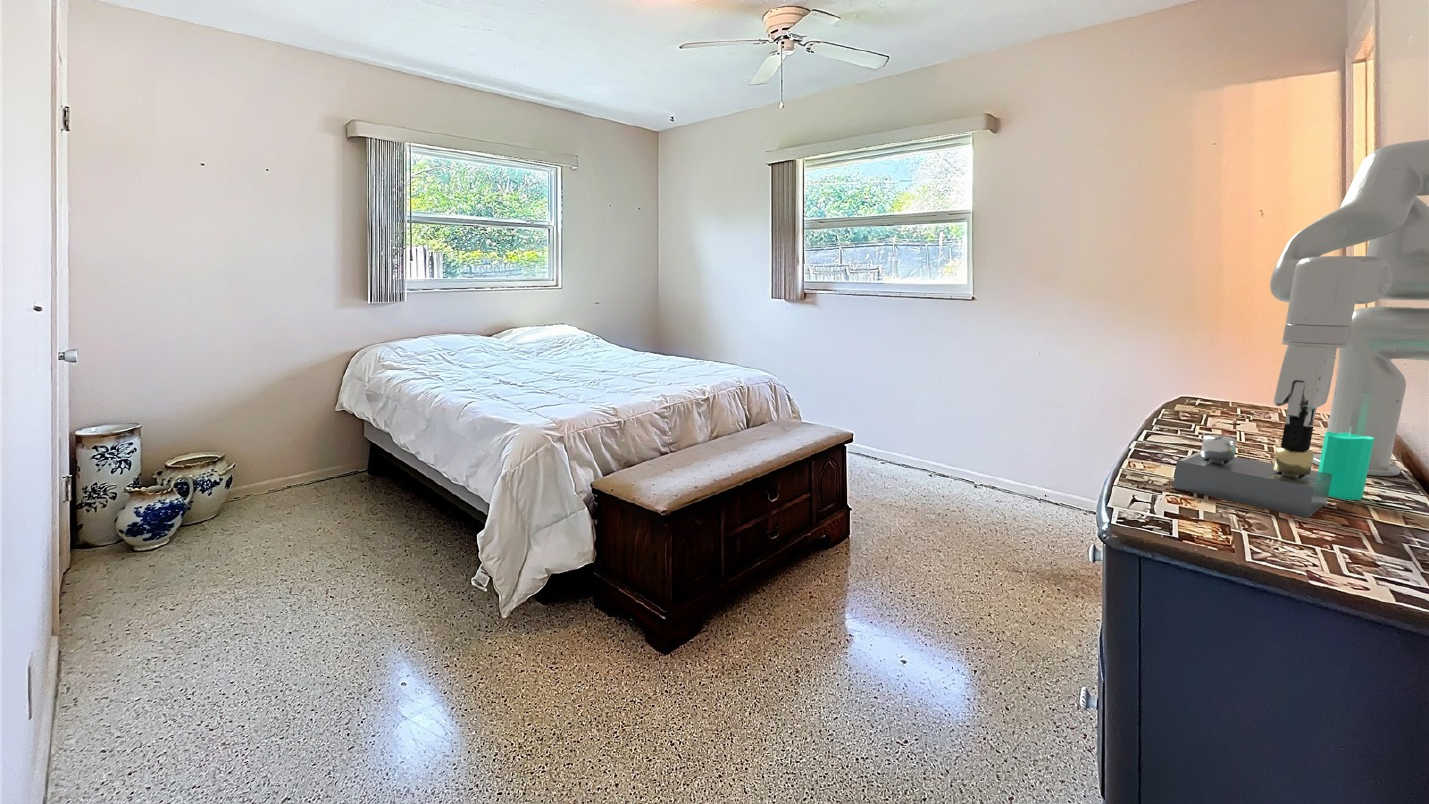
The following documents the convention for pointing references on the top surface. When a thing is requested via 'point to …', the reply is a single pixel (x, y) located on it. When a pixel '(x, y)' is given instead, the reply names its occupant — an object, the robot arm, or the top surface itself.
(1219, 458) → the knob
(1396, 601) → the top surface
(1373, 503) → the top surface
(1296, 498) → the mount
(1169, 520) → the top surface
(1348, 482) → the candle
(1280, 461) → the knob
